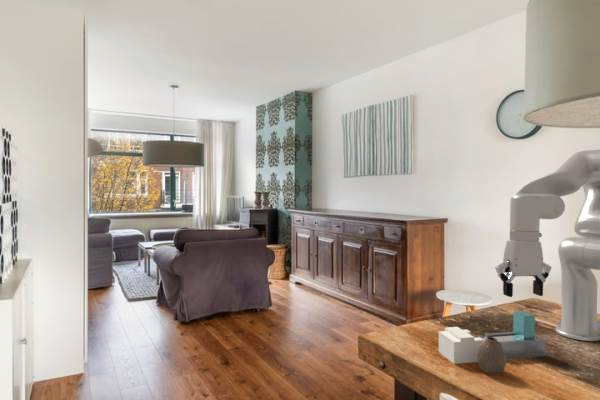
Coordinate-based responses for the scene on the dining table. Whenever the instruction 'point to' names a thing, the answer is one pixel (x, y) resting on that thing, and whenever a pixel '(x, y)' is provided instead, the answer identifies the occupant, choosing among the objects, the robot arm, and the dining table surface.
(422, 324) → the dining table surface
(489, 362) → the vase
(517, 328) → the teal-tipped grey beam
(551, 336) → the dining table surface
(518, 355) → the guide channel
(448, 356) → the socket block
